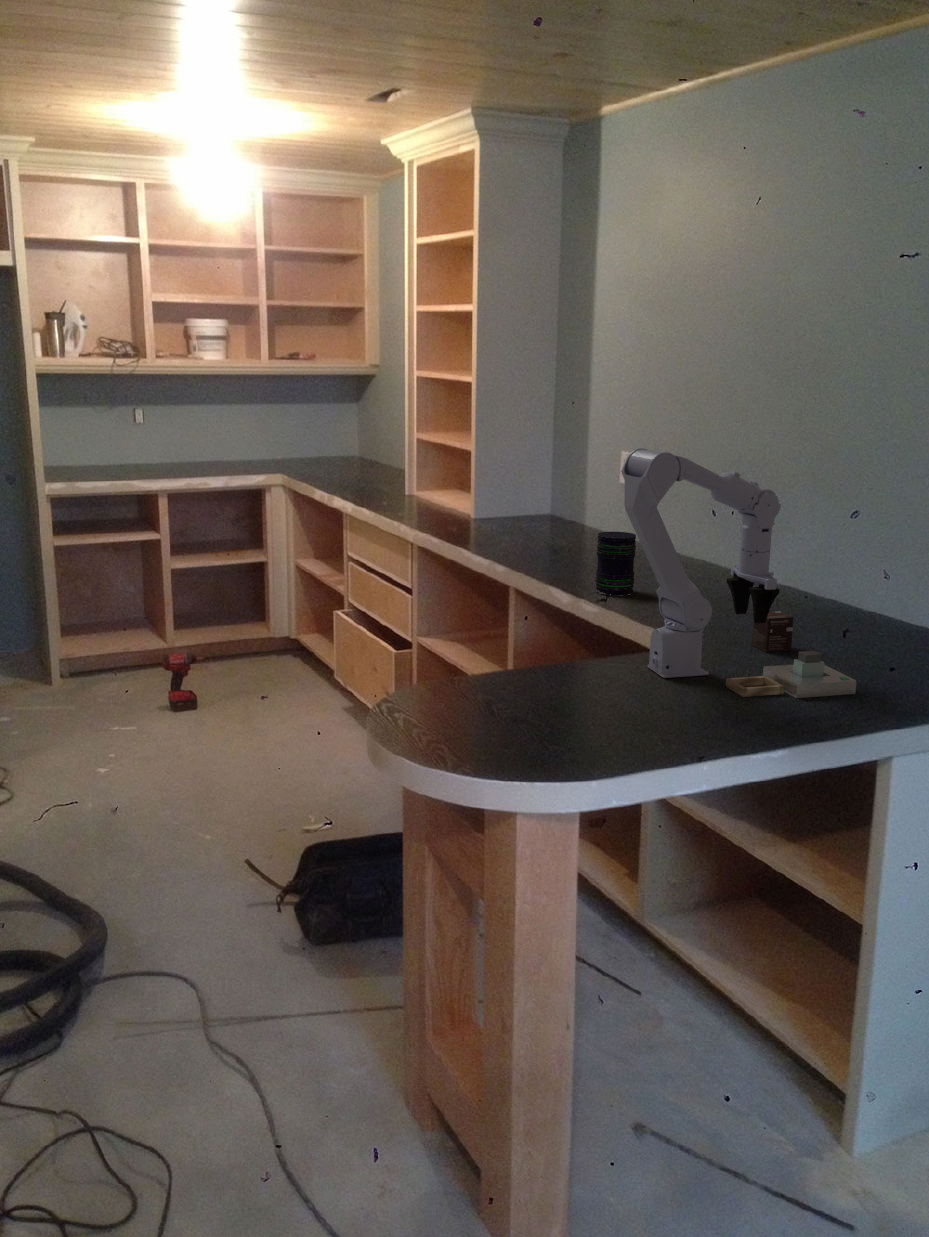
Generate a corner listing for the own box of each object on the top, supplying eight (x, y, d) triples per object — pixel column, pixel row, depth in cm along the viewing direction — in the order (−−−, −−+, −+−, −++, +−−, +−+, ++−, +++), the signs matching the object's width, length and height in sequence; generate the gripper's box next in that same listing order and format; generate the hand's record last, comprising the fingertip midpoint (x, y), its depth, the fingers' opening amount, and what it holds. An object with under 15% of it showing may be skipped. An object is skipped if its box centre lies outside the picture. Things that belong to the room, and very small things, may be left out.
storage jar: (641, 594, 280) (643, 536, 277) (606, 597, 277) (609, 538, 273) (621, 587, 289) (624, 530, 286) (588, 589, 286) (590, 532, 282)
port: (796, 698, 198) (797, 683, 198) (762, 679, 209) (763, 665, 209) (855, 693, 201) (856, 679, 200) (819, 675, 212) (820, 661, 212)
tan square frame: (742, 696, 199) (743, 688, 198) (725, 686, 205) (726, 678, 204) (783, 694, 200) (784, 686, 200) (765, 683, 207) (765, 675, 206)
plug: (800, 689, 203) (803, 655, 202) (791, 685, 206) (794, 651, 205) (822, 688, 204) (825, 654, 203) (813, 683, 207) (816, 650, 206)
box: (765, 653, 228) (768, 618, 226) (750, 645, 233) (753, 611, 232) (791, 651, 229) (794, 616, 228) (776, 643, 235) (779, 610, 233)
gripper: (793, 555, 208) (787, 625, 211) (755, 542, 222) (750, 608, 225) (759, 557, 206) (754, 627, 210) (723, 544, 220) (718, 610, 223)
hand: (750, 618), depth 217 cm, fingers open, 7 cm apart
